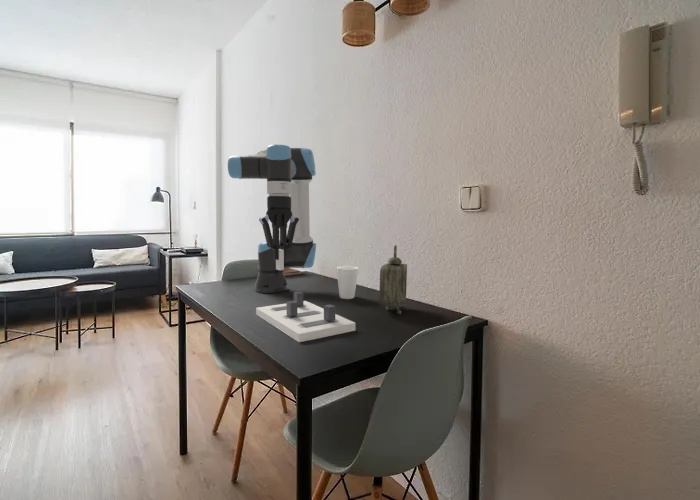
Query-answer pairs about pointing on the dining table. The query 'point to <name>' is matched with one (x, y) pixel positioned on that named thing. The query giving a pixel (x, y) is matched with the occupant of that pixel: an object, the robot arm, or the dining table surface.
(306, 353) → the dining table surface
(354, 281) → the foam cup
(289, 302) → the handle
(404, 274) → the tabletop clock
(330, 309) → the handle
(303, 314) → the breaker panel
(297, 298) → the handle
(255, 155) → the robot arm
